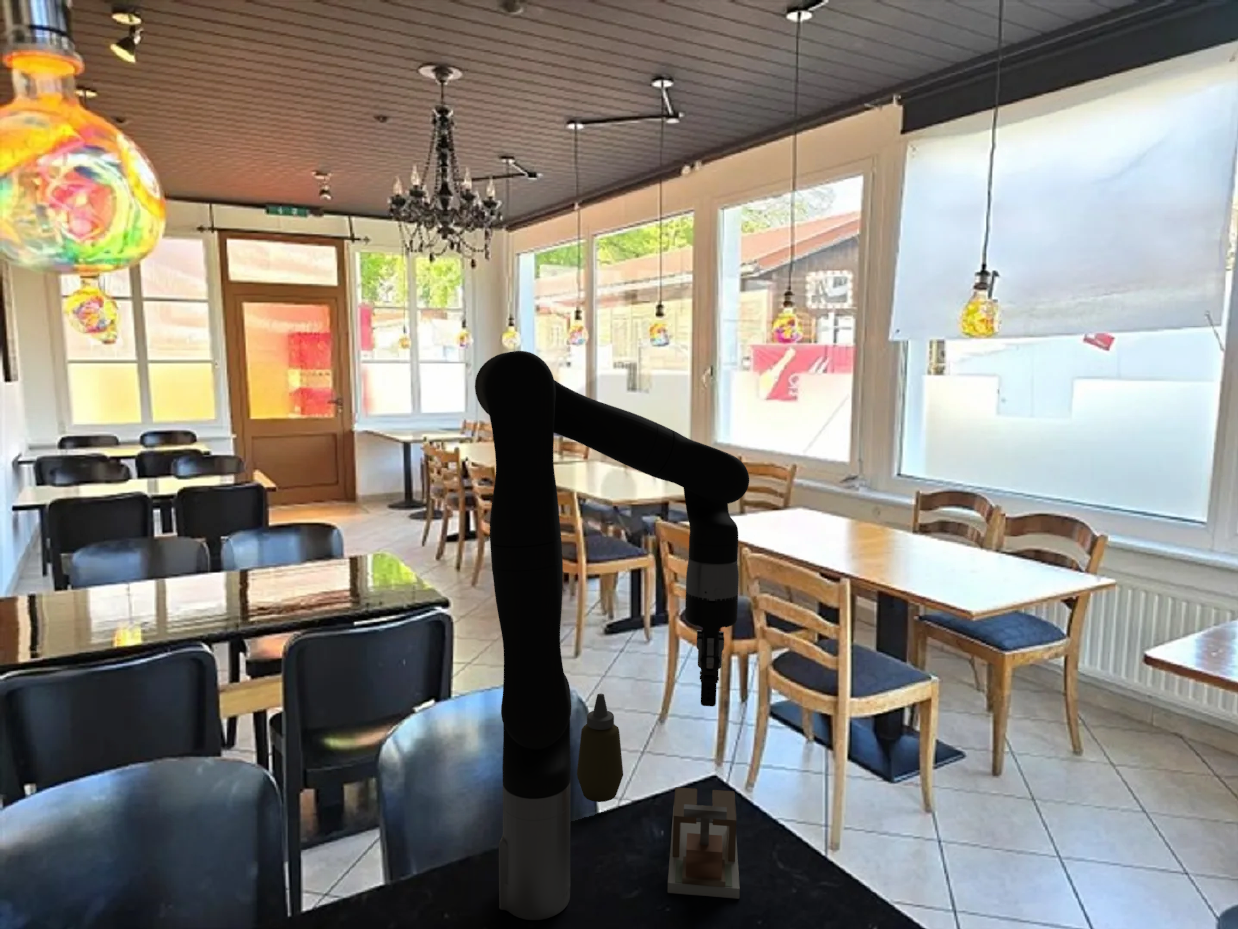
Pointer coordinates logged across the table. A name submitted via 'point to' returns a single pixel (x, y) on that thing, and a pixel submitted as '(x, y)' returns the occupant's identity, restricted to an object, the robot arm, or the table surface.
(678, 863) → the tunnel
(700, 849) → the sled
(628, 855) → the table surface
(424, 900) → the table surface
